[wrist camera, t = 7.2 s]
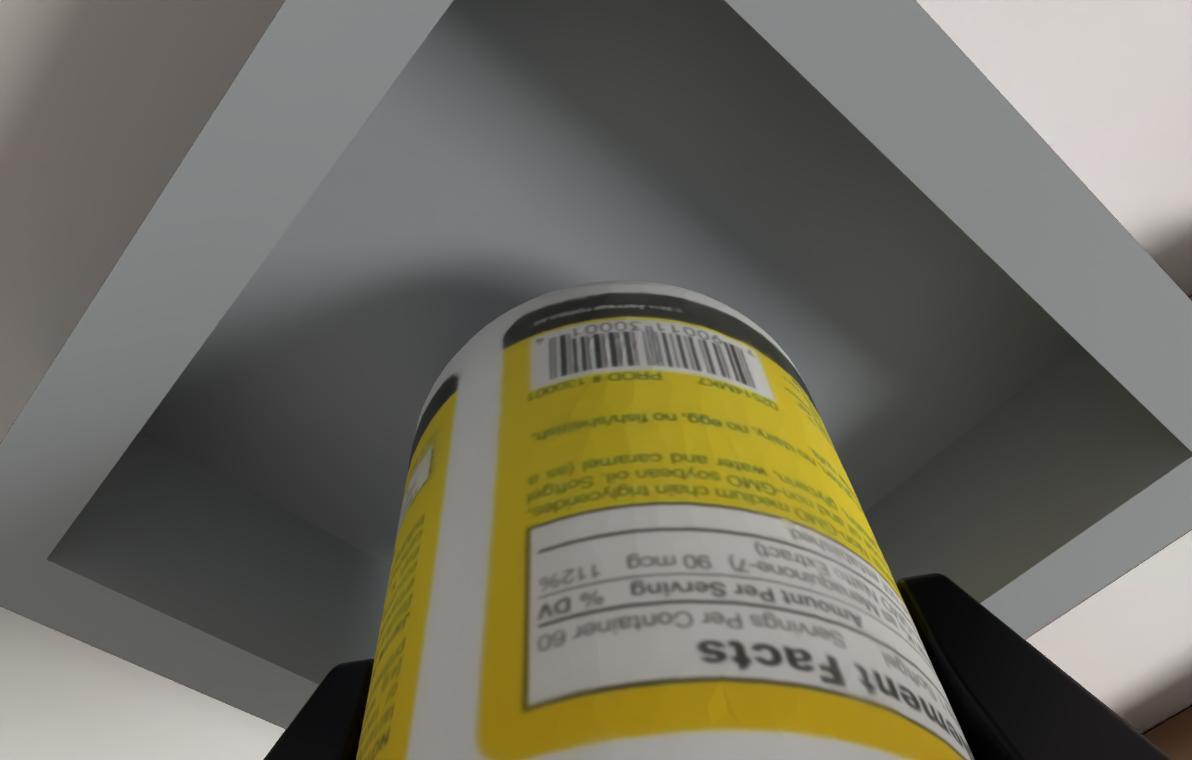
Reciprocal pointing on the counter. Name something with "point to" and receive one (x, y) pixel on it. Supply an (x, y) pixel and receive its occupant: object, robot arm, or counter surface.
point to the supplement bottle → (639, 555)
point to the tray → (572, 257)
